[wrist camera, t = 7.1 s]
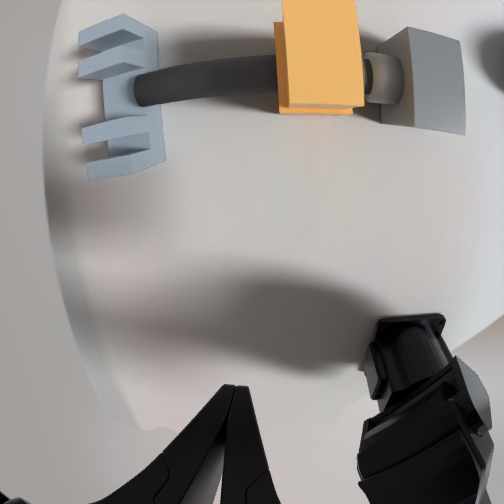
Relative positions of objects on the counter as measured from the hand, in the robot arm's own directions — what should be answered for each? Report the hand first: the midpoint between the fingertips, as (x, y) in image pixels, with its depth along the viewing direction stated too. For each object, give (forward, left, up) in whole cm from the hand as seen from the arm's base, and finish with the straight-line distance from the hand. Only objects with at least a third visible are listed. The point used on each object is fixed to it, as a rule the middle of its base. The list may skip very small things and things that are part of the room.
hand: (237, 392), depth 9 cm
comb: (+8, -11, -12) cm, 17 cm away
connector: (-9, -11, -12) cm, 18 cm away
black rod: (-1, -11, -10) cm, 15 cm away
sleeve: (-3, -11, -12) cm, 16 cm away
